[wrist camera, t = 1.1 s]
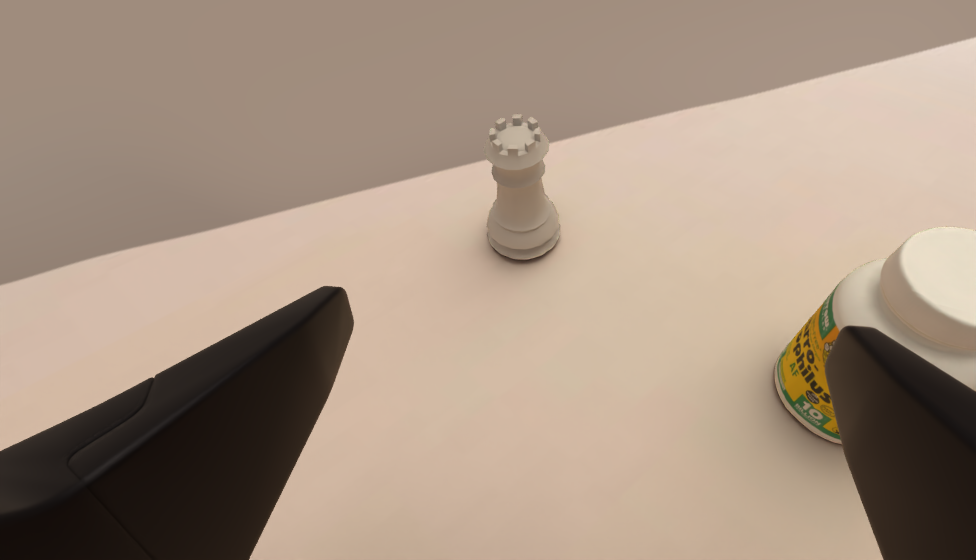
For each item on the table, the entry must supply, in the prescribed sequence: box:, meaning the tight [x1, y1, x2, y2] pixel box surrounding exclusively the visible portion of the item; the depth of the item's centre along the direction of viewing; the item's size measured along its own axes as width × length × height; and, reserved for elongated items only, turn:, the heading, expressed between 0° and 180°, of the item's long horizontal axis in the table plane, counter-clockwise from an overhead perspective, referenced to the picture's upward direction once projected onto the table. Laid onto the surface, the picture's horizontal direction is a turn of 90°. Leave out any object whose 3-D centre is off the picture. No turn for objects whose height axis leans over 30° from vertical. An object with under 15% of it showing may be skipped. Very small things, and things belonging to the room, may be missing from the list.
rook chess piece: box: [484, 115, 560, 260], centre depth 27 cm, size 4×4×8 cm
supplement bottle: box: [775, 227, 976, 444], centre depth 19 cm, size 5×5×10 cm
